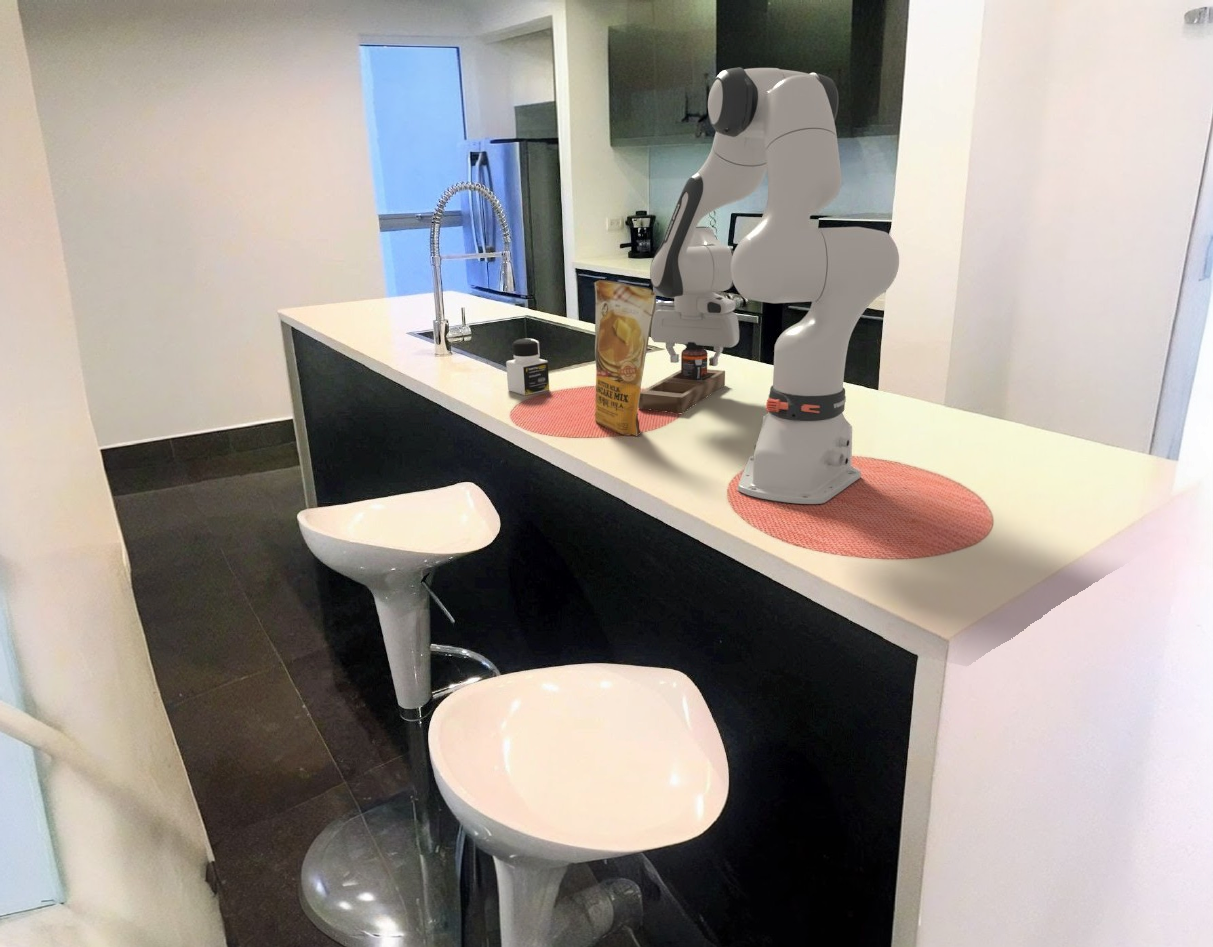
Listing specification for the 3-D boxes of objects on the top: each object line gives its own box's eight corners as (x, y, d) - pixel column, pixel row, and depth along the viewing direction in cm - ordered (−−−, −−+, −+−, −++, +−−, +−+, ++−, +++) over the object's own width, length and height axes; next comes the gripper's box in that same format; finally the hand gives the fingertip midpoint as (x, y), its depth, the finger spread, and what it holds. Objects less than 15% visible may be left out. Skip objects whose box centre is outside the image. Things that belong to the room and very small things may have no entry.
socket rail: (681, 413, 173) (681, 397, 172) (638, 409, 178) (638, 393, 177) (724, 385, 195) (725, 370, 194) (685, 381, 199) (685, 367, 198)
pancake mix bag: (611, 412, 176) (608, 277, 166) (660, 434, 160) (659, 287, 151) (583, 417, 173) (578, 280, 163) (630, 440, 157) (627, 290, 148)
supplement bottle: (705, 392, 188) (706, 343, 184) (679, 392, 189) (679, 342, 185) (708, 386, 193) (708, 337, 189) (682, 385, 194) (682, 337, 190)
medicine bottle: (525, 396, 191) (522, 344, 187) (507, 390, 196) (504, 340, 192) (550, 390, 195) (547, 339, 191) (531, 385, 200) (528, 335, 196)
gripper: (645, 302, 186) (646, 363, 191) (732, 306, 177) (731, 370, 182) (657, 298, 192) (657, 357, 196) (742, 302, 183) (740, 364, 187)
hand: (693, 363), depth 189 cm, fingers open, 8 cm apart
